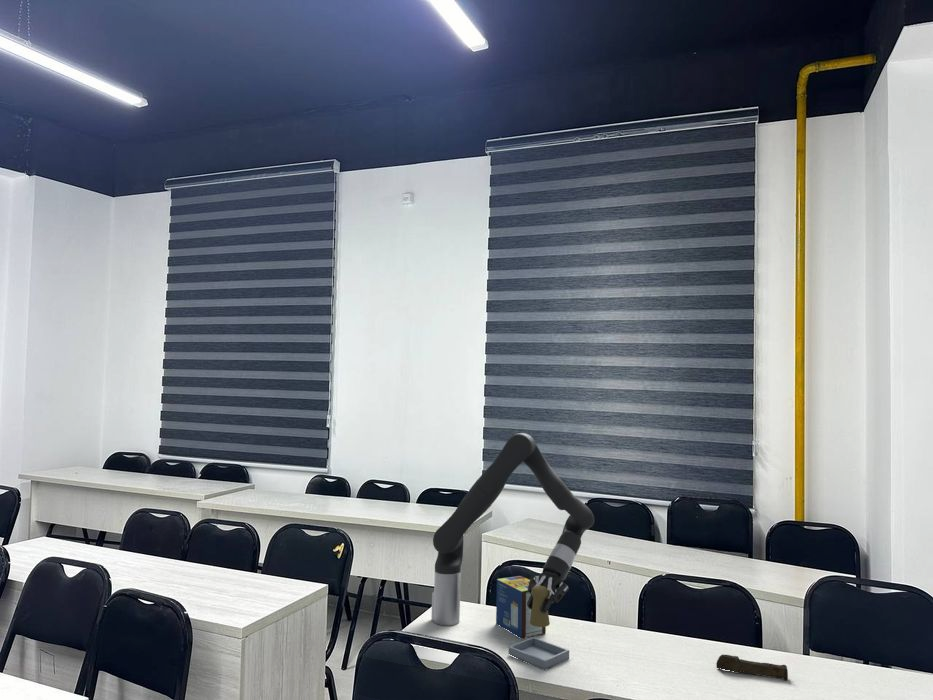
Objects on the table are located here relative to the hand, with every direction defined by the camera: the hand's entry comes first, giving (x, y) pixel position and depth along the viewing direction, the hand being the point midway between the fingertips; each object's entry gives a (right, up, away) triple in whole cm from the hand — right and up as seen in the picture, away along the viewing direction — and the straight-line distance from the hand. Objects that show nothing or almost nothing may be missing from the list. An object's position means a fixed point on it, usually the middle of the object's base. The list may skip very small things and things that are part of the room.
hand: (535, 609), depth 189 cm
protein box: (-3, -17, +23) cm, 29 cm away
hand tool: (+62, -16, -8) cm, 65 cm away
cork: (+1, -5, +1) cm, 5 cm away
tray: (+1, -15, 0) cm, 15 cm away
